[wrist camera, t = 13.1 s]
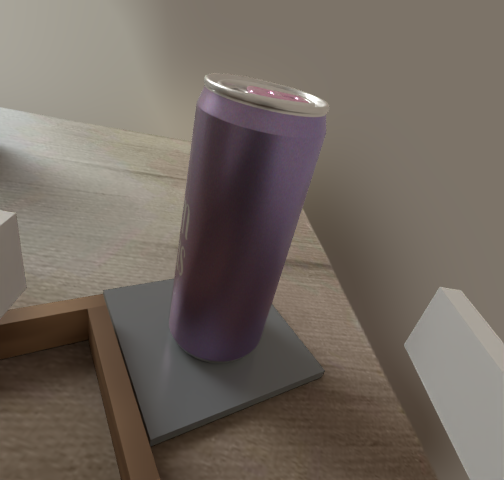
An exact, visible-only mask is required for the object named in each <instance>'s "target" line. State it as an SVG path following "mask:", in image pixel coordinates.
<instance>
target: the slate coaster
mask: <svg viewBox="0 0 504 480" xmlns="http://www.w3.org/2000/svg"><path fill="white" fill-rule="evenodd" d="M173 286H174V279H169V280H163V281H157V282H151V283H145V284H139V285H133V286H127V287H120V288H114V289H108V290H103V296H104V299H105V303H106V306H107V309H108V312H109V316H110V319H111V322H112V325H113V328H114V332H115V335H116V338H117V341H118V345H119V348H120V351H121V354H122V357H123V361H124V364H125V367H126V370H127V373H128V377H129V380H130V383H131V386H132V390H133V393H134V396H135V399H136V402H137V406H138V409H139V412H140V415H141V419H142V422H143V425H144V428H145V431H146V435H147V438H148V441H149V444H150V447H151V446H153V445H156V444H158V443H161V442H163V441H166V440H168V439H170V438H173V437H175V436H178V435H180V434H183V433H185V432H188V431H190V430H193V429H195V428H198V427H200V426H202V425H205V424H207V423H210V422H212V421H215V420H217V419H220V418H222V417H225V416H227V415H229V414H232V413H234V412H237V411H239V410H242V409H244V408H247V407H249V406H252V405H254V404H257V403H259V402H261V401H264V400H266V399H269V398H271V397H274V396H276V395H279V394H281V393H284V392H286V391H289V390H291V389H293V388H296V387H298V386H301V385H303V384H306V383H308V382H311V381H313V380H316V379H318V378H320V377H322V376H323V374H324V372H325V370H324V369H323V368H322V366H321V365H320V364H319V363H318V361H317V360H316V359H315V358H314V356H313V355H312V354H311V353H310V351H309V350H308V349H307V348H306V346H305V345H304V344H303V343H302V341H301V340H300V339H299V338H298V336H297V335H296V334H295V333H294V331H293V330H292V329H291V328H290V326H289V325H288V324H287V323H286V321H285V320H284V319H283V318H282V316H281V315H280V314H279V312H278V311H277V310H276V309H275V307H274V306H273V305H272V304H271V307H270V311H269V314H268V317H267V320H266V323H265V326H264V329H263V333H262V336H261V339H260V341H259V343H258V345H257V346H256V347H255V349H254V350H252V351H251V352H250V353H249V354H247V355H245V356H244V357H242V358H240V359H238V360H235V361H232V362H228V363H209V362H205V361H202V360H199V359H196V358H194V357H192V356H191V355H189V354H188V353H186V352H185V351H184V350H183V349H182V348H181V347H180V346H179V345H178V343H177V342H176V340H175V339H174V337H173V336H172V334H171V331H170V327H169V317H170V309H171V301H172V294H173Z"/></svg>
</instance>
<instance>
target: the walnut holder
mask: <svg viewBox="0 0 504 480" xmlns="http://www.w3.org/2000/svg"><path fill="white" fill-rule="evenodd" d="M84 340H89V344H90V349H91V353H92V357H93V361H94V366H95V370H96V374H97V379H98V383H99V387H100V391H101V396H102V400H103V404H104V408H105V413H106V417H107V421H108V425H109V430H110V434H111V438H112V442H113V447H114V451H115V455H116V459H117V464H118V468H119V472H120V476H121V480H160V476H159V473H158V470H157V467H156V464H155V460H154V457H153V454H152V451H151V447H150V444H149V441H148V438H147V435H146V431H145V428H144V425H143V422H142V419H141V415H140V412H139V409H138V406H137V402H136V399H135V396H134V393H133V390H132V386H131V383H130V380H129V377H128V373H127V370H126V367H125V364H124V361H123V357H122V354H121V351H120V348H119V345H118V341H117V338H116V335H115V332H114V328H113V325H112V322H111V319H110V316H109V312H108V309H107V306H106V303H105V299H104V296H103V294H100V295H94V296H88V297H82V298H76V299H70V300H64V301H58V302H52V303H47V304H41V305H35V306H29V307H23V308H17V309H11V310H7V312H6V313H5V314H4V315H3V316H2V317H1V319H0V359H5V358H9V357H14V356H18V355H22V354H27V353H31V352H36V351H40V350H44V349H49V348H53V347H58V346H62V345H66V344H71V343H75V342H80V341H84Z"/></svg>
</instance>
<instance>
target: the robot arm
mask: <svg viewBox="0 0 504 480" xmlns="http://www.w3.org/2000/svg"><path fill="white" fill-rule="evenodd" d="M26 288H27V287H26V280H25V273H24V266H23V259H22V252H21V245H20V238H19V231H18V224H17V217H16V213H14V212H8V211H2V210H0V319H1V317H2V316H3V315H4V314H5V313H6V312H7V310H8V309H9V308H10V307H11V306H12V304H13V303H14V302H15V301H16V300H17V299H18V297H19V296H20V295H21V294H22V293H23V291H24V290H25V289H26ZM404 346H405V348H406V350H407V352H408V354H409V356H410V358H411V360H412V362H413V364H414V367H415V369H416V371H417V373H418V375H419V377H420V379H421V381H422V383H423V385H424V387H425V389H426V391H427V393H428V395H429V397H430V399H431V401H432V403H433V405H434V408H435V410H436V412H437V414H438V416H439V418H440V420H441V422H442V424H443V426H444V428H445V430H446V432H447V434H448V436H449V438H450V440H451V442H452V444H453V446H454V449H455V451H456V453H457V455H458V457H459V459H460V461H461V463H462V465H463V467H464V469H465V471H466V473H467V475H468V477H469V479H470V480H504V343H503V342H502V341H501V339H499V337H498V336H497V334H496V333H495V332H494V331H493V330H492V328H491V327H490V326H489V324H488V323H487V322H486V321H485V320H484V318H483V317H482V316H481V315H480V313H479V312H478V311H477V310H476V308H475V307H474V306H473V305H472V303H471V302H470V301H469V300H468V298H467V297H466V296H465V295H464V293H463V292H462V291H461V290H455V289H450V288H444V287H439V289H438V291H437V292H436V294H435V295H434V297H433V299H432V300H431V302H430V304H429V305H428V307H427V308H426V310H425V312H424V313H423V315H422V317H421V318H420V320H419V321H418V323H417V325H416V326H415V328H414V330H413V331H412V333H411V335H410V336H409V338H408V339H407V341H406V342H405V344H404Z"/></svg>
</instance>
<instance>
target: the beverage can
mask: <svg viewBox="0 0 504 480" xmlns="http://www.w3.org/2000/svg"><path fill="white" fill-rule="evenodd" d="M204 83H205V86H204V88H203V90H202V92H201V95H200V97H199V99H198V101H197V104H196V112H195V121H194V128H193V136H192V144H191V152H190V160H189V167H188V175H187V183H186V191H185V199H184V207H183V215H182V223H181V231H180V238H179V246H178V254H177V262H176V270H175V278H174V286H173V294H172V301H171V309H170V317H169V327H170V331H171V334H172V336H173V337H174V339H175V340H176V342H177V343H178V345H179V346H180V347H181V348H182V349H183V350H184V351H185V352H186V353H188V354H189V355H191V356H192V357H194V358H196V359H199V360H202V361H205V362H209V363H228V362H232V361H235V360H238V359H240V358H242V357H244V356H245V355H247V354H249V353H250V352H251V351H252V350H254V349H255V347H256V346H257V345H258V343H259V341H260V339H261V336H262V333H263V329H264V326H265V323H266V320H267V317H268V314H269V311H270V307H271V304H272V301H273V298H274V295H275V292H276V289H277V285H278V282H279V279H280V276H281V273H282V270H283V267H284V263H285V260H286V257H287V254H288V251H289V248H290V245H291V241H292V238H293V235H294V232H295V229H296V226H297V223H298V219H299V216H300V213H301V210H302V207H303V204H304V201H305V197H306V194H307V191H308V188H309V185H310V182H311V179H312V175H313V172H314V169H315V166H316V162H317V160H318V156H319V153H320V150H321V147H322V144H323V141H324V138H325V135H326V113H327V112H328V111H329V104H328V103H327V102H326V101H324V100H323V99H321V98H319V97H316V96H314V95H311V94H309V93H306V92H303V91H301V90H298V89H294V88H291V87H288V86H284V85H281V84H277V83H273V82H269V81H265V80H260V79H256V78H251V77H245V76H239V75H232V74H223V73H210V74H207V75H206V76H205V78H204Z"/></svg>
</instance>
